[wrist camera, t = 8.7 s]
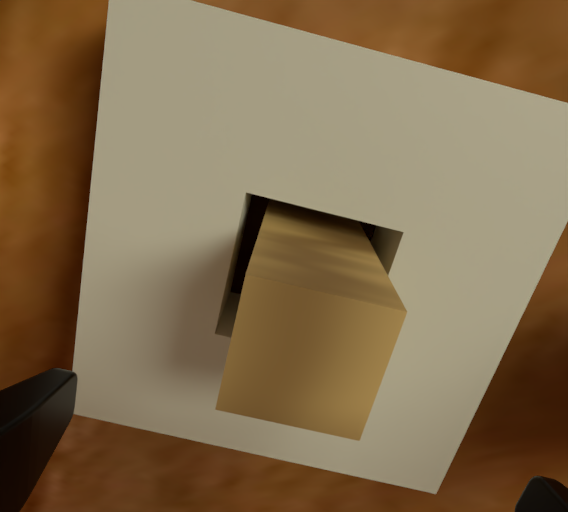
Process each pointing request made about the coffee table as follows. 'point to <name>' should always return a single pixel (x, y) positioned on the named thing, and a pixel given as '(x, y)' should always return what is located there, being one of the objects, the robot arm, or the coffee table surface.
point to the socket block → (315, 195)
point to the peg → (311, 325)
